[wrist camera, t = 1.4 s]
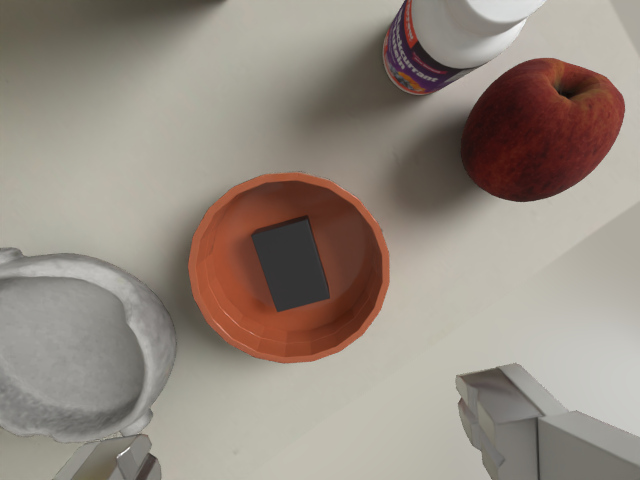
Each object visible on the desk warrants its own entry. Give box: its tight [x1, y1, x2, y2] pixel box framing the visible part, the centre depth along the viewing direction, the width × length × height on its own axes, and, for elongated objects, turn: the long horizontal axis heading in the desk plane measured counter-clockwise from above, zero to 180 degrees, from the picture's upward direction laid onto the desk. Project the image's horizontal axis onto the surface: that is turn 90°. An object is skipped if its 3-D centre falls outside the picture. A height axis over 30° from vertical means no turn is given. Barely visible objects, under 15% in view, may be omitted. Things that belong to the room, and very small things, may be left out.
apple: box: [461, 58, 625, 202], centre depth 18 cm, size 7×8×8 cm
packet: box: [251, 215, 330, 312], centre depth 22 cm, size 6×4×2 cm, turn 15°
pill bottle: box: [383, 0, 546, 95], centre depth 16 cm, size 5×5×10 cm
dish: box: [0, 247, 177, 443], centre depth 23 cm, size 14×14×5 cm
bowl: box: [188, 171, 389, 363], centre depth 22 cm, size 13×13×4 cm
